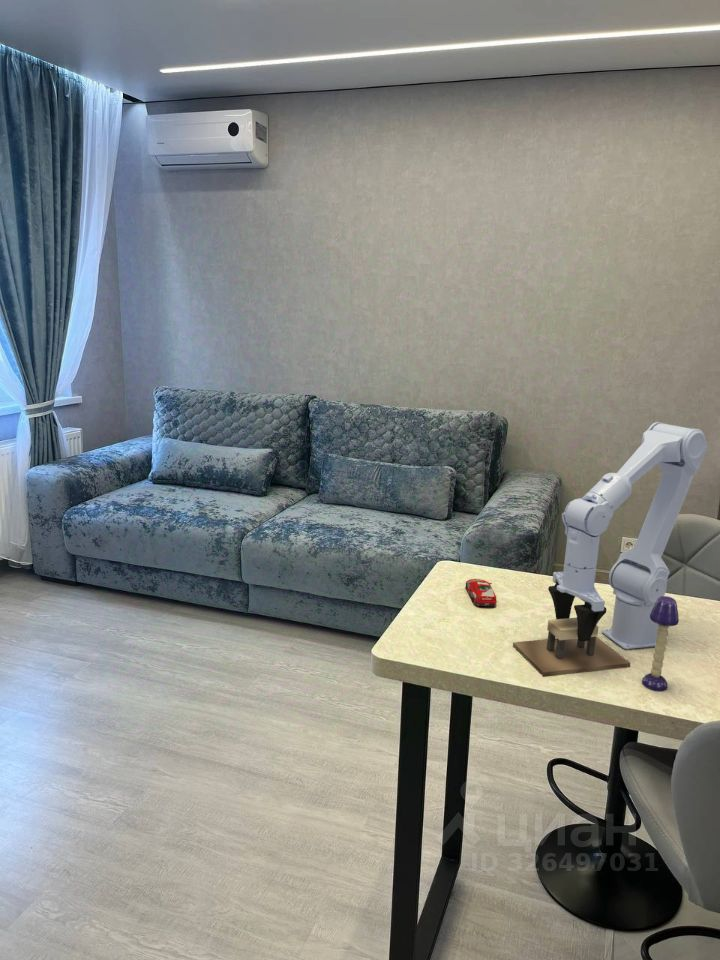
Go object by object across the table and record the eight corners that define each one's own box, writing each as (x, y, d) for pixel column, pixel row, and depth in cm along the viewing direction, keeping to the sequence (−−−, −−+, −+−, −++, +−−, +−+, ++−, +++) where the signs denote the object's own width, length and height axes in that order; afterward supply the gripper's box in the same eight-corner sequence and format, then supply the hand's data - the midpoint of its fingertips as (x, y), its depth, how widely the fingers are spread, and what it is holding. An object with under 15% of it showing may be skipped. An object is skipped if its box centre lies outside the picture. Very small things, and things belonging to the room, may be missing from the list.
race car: (463, 586, 169) (464, 571, 168) (486, 587, 169) (487, 571, 168) (473, 609, 156) (474, 592, 155) (498, 610, 156) (499, 593, 155)
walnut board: (593, 638, 143) (593, 634, 143) (629, 666, 132) (630, 662, 132) (512, 646, 139) (513, 642, 138) (543, 676, 127) (543, 672, 127)
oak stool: (545, 648, 136) (548, 620, 135) (581, 645, 138) (585, 616, 137) (557, 659, 132) (560, 630, 131) (595, 655, 134) (598, 626, 133)
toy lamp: (673, 692, 123) (687, 604, 119) (647, 693, 123) (660, 604, 119) (660, 678, 128) (672, 593, 124) (635, 679, 128) (647, 593, 124)
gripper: (541, 551, 137) (535, 616, 140) (583, 579, 123) (574, 650, 126) (573, 549, 139) (566, 614, 142) (618, 576, 125) (609, 647, 128)
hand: (572, 631), depth 134 cm, fingers open, 7 cm apart
